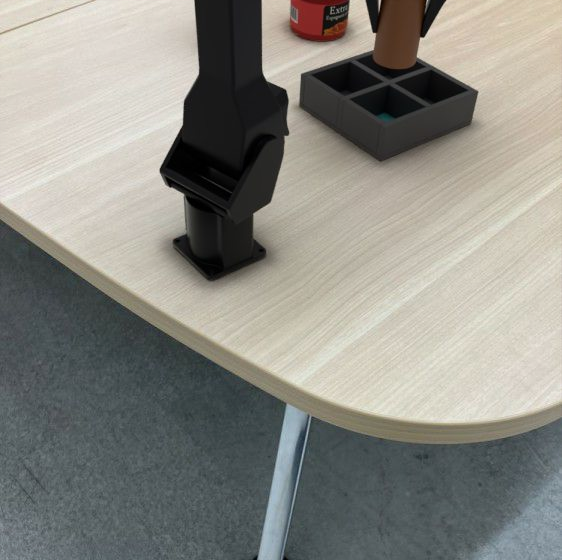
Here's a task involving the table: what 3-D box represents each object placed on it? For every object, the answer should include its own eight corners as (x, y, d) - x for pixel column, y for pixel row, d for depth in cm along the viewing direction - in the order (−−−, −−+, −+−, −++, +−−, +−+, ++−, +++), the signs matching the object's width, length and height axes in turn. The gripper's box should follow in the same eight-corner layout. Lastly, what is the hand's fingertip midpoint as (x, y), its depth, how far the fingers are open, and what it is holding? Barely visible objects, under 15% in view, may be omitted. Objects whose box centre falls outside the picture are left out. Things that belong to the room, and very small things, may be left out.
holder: (471, 123, 91) (478, 91, 88) (380, 161, 85) (385, 127, 82) (387, 75, 98) (392, 43, 95) (298, 106, 92) (300, 73, 89)
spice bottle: (424, 62, 80) (444, -43, 73) (393, 73, 78) (410, -34, 71) (395, 45, 82) (412, -58, 75) (363, 55, 80) (377, -50, 73)
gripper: (529, -166, 72) (489, 9, 83) (325, -182, 73) (314, -7, 84) (540, -131, 64) (494, 57, 75) (312, -149, 65) (302, 38, 77)
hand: (398, 33), depth 78 cm, fingers closed on spice bottle, 4 cm apart
